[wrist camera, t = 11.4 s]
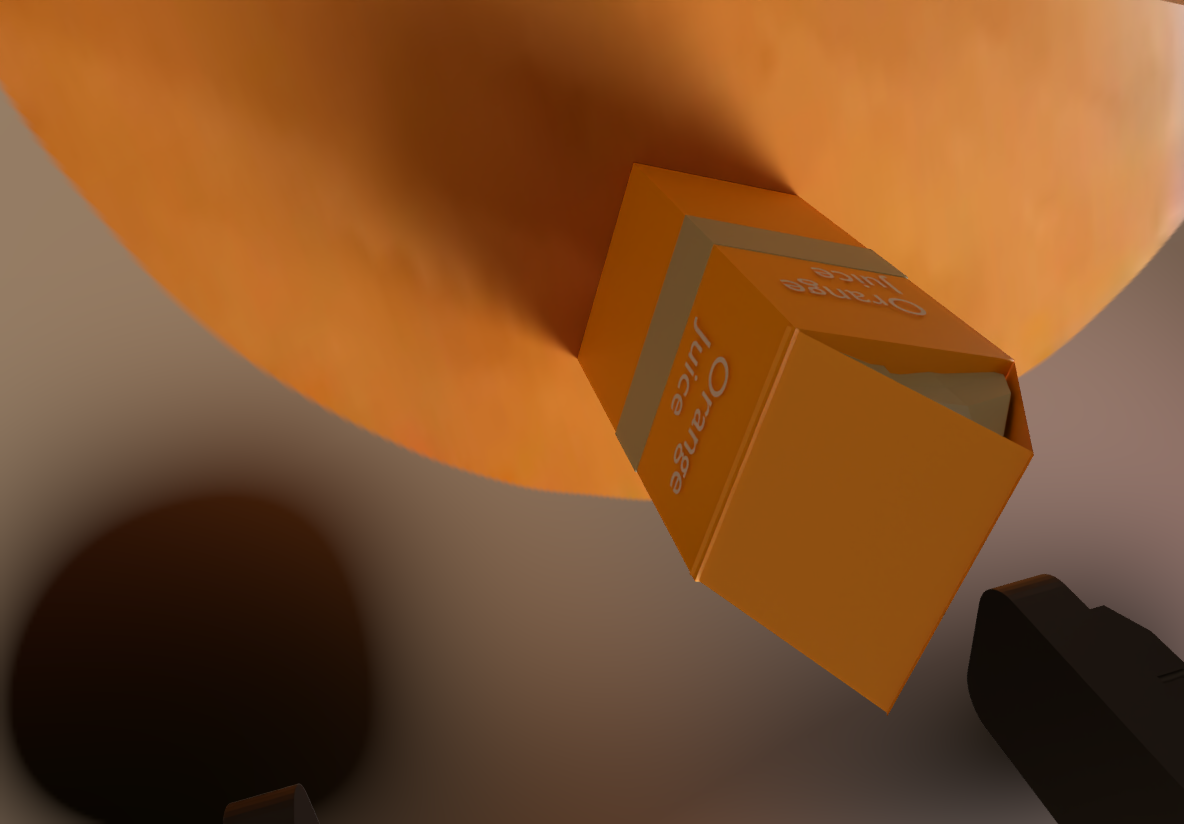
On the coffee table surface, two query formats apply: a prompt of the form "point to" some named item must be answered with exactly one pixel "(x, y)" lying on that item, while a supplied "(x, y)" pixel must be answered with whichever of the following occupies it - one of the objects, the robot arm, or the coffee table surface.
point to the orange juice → (801, 418)
